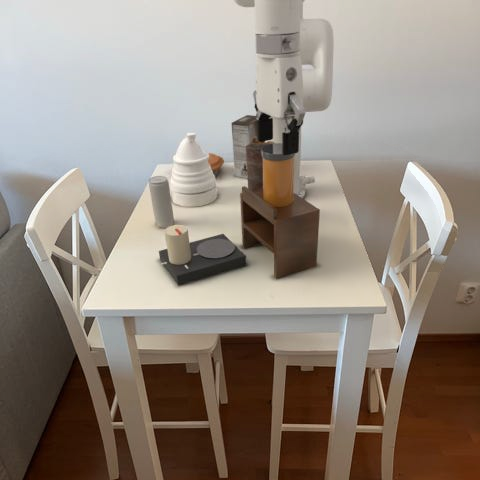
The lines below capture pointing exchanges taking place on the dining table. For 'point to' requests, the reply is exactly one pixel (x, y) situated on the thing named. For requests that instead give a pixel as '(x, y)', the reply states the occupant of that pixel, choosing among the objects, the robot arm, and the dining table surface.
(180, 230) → the knob
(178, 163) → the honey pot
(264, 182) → the jar
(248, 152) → the candle
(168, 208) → the beverage can
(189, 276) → the hot plate
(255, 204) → the shelf
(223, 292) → the dining table surface
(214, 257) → the pale grey disc
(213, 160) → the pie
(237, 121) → the coffee box
